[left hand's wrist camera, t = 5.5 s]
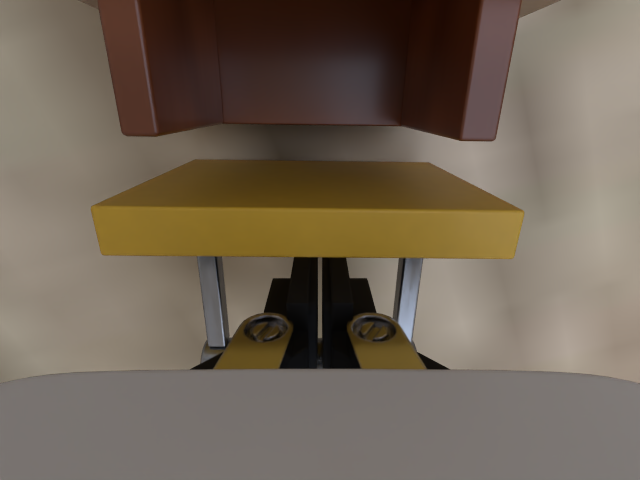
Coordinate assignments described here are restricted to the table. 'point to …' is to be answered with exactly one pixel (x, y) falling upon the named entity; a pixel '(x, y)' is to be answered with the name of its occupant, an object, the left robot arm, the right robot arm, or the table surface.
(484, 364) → the table surface
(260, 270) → the table surface
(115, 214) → the drawer
